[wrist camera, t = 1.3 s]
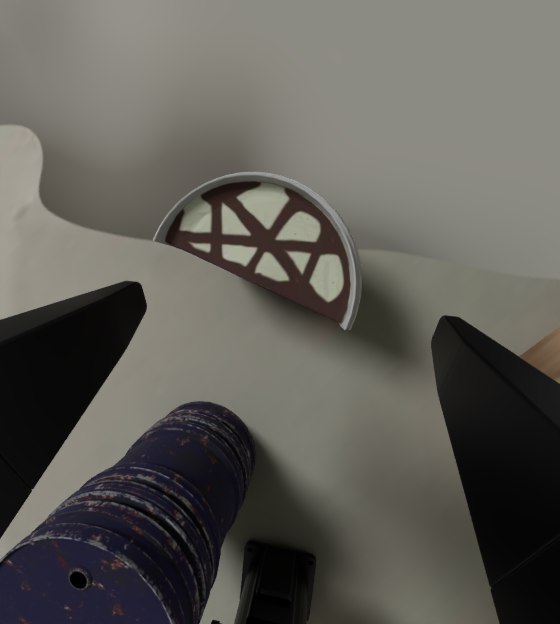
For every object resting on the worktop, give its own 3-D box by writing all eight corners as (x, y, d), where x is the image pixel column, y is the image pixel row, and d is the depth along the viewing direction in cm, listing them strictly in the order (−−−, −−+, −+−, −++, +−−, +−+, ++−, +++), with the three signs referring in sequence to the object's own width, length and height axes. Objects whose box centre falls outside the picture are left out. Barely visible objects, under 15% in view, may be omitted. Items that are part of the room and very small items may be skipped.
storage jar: (250, 511, 28) (172, 764, 13) (151, 490, 29) (-21, 701, 15) (262, 409, 27) (190, 562, 12) (158, 391, 28) (-21, 511, 13)
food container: (375, 245, 24) (412, 220, 14) (342, 314, 25) (355, 335, 15) (238, 184, 25) (185, 123, 15) (210, 253, 26) (143, 236, 16)
